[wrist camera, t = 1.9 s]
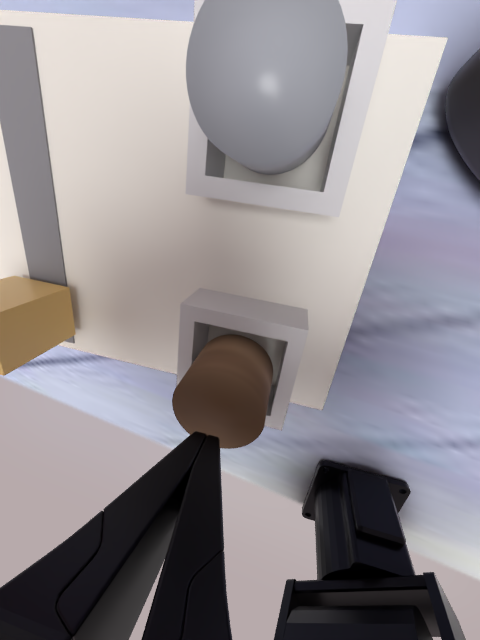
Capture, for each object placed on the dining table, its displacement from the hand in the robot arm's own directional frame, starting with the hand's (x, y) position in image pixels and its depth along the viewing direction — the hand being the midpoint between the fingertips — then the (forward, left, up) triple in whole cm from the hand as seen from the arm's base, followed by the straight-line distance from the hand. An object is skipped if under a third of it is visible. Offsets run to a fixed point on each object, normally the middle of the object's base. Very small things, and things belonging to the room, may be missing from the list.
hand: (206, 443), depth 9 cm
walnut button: (0, 0, -4) cm, 4 cm away
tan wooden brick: (0, +12, -6) cm, 14 cm away
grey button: (+10, 0, -4) cm, 11 cm away
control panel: (+5, +6, -10) cm, 13 cm away
